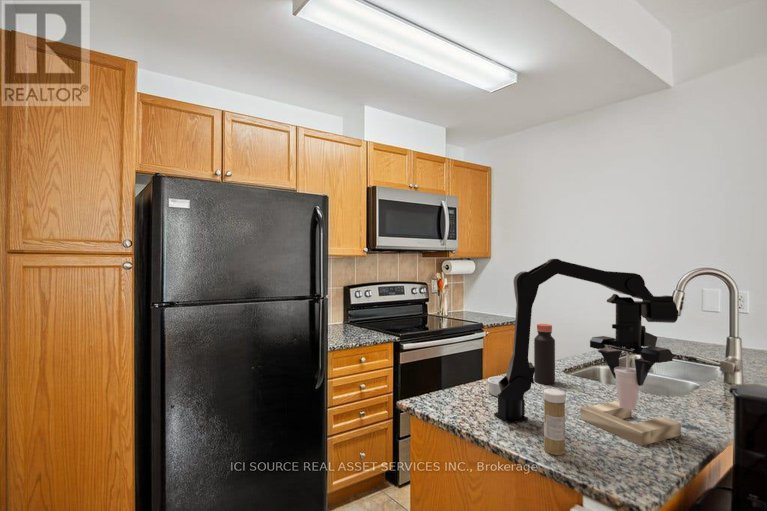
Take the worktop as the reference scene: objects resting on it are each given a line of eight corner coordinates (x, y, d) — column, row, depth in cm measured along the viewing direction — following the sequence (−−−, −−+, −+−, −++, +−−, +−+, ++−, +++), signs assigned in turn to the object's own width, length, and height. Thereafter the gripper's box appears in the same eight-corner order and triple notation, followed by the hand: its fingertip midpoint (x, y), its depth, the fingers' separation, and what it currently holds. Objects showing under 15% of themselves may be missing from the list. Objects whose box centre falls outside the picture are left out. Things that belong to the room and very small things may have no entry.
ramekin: (486, 396, 126) (486, 382, 126) (488, 388, 135) (488, 375, 135) (516, 399, 124) (516, 385, 124) (516, 390, 132) (516, 377, 132)
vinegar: (557, 385, 138) (557, 326, 138) (536, 384, 139) (536, 326, 139) (552, 379, 144) (552, 323, 144) (532, 378, 145) (532, 323, 146)
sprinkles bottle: (548, 444, 93) (548, 386, 94) (568, 451, 90) (568, 391, 90) (540, 451, 90) (540, 391, 90) (561, 458, 87) (561, 396, 87)
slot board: (641, 445, 93) (641, 432, 93) (580, 419, 108) (580, 408, 108) (680, 435, 98) (680, 423, 98) (617, 411, 114) (617, 400, 114)
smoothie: (609, 406, 104) (610, 352, 104) (617, 400, 108) (618, 348, 108) (638, 414, 99) (639, 357, 99) (645, 407, 104) (646, 353, 104)
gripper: (687, 325, 98) (686, 389, 98) (616, 315, 115) (616, 369, 115) (657, 327, 94) (657, 394, 94) (588, 316, 111) (588, 373, 111)
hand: (628, 381), depth 104 cm, fingers closed on smoothie, 6 cm apart
